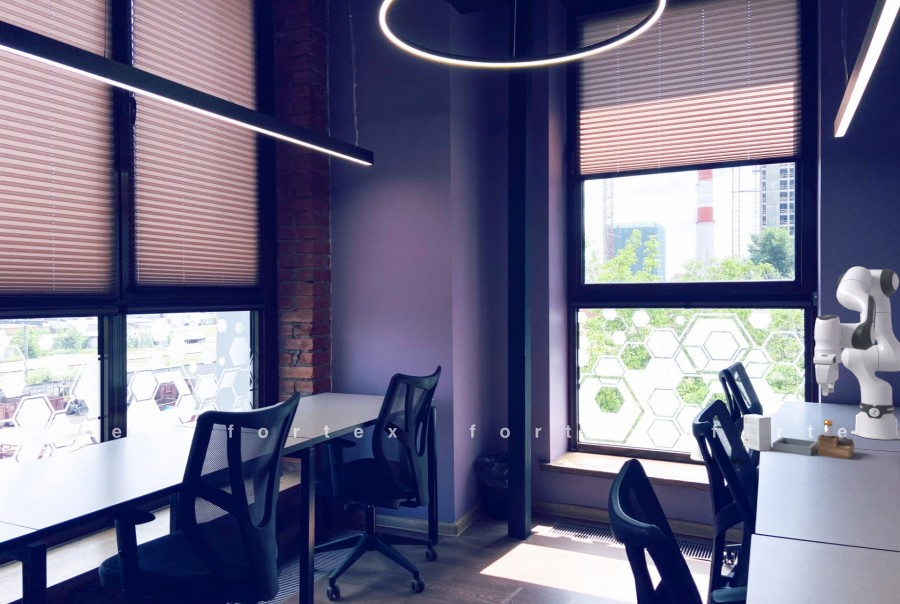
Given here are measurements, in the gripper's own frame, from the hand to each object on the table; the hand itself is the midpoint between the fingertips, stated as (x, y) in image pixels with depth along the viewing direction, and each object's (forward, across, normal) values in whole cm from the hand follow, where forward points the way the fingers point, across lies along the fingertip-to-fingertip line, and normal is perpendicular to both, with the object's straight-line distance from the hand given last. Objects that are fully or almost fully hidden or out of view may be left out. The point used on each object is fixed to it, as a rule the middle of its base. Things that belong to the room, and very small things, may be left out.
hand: (828, 394), depth 247 cm
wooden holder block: (+23, -3, +2) cm, 24 cm away
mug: (+24, +36, -35) cm, 55 cm away
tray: (+23, -1, -12) cm, 26 cm away
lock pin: (+19, 0, 0) cm, 19 cm away
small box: (+24, +5, -24) cm, 34 cm away
